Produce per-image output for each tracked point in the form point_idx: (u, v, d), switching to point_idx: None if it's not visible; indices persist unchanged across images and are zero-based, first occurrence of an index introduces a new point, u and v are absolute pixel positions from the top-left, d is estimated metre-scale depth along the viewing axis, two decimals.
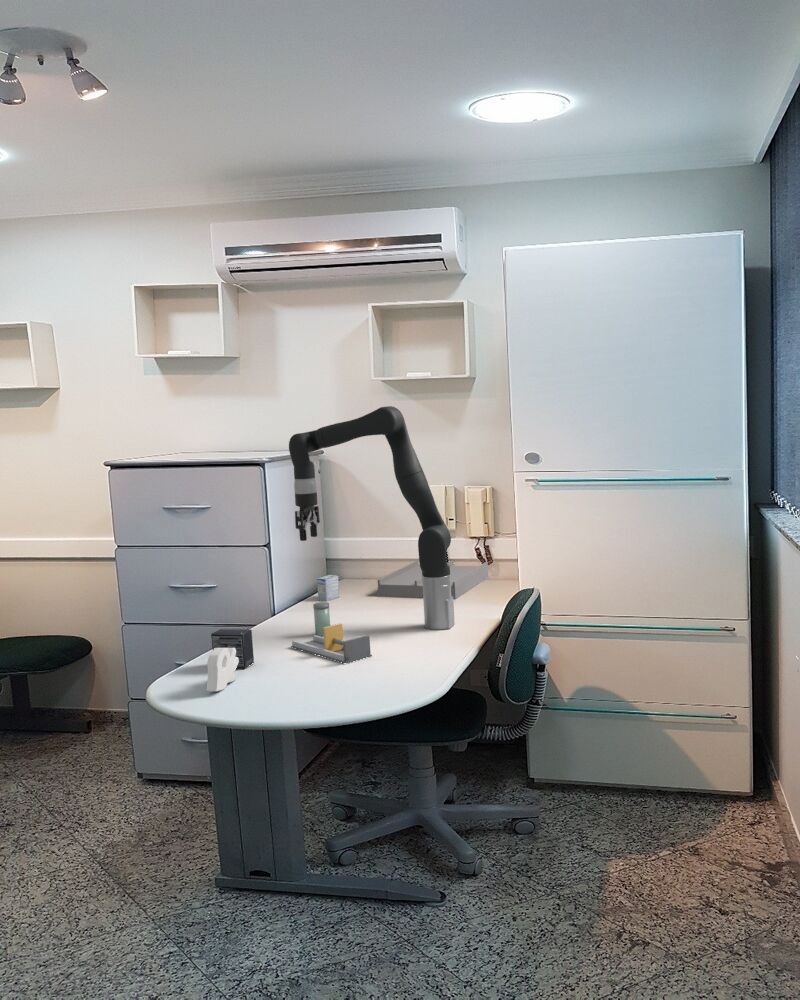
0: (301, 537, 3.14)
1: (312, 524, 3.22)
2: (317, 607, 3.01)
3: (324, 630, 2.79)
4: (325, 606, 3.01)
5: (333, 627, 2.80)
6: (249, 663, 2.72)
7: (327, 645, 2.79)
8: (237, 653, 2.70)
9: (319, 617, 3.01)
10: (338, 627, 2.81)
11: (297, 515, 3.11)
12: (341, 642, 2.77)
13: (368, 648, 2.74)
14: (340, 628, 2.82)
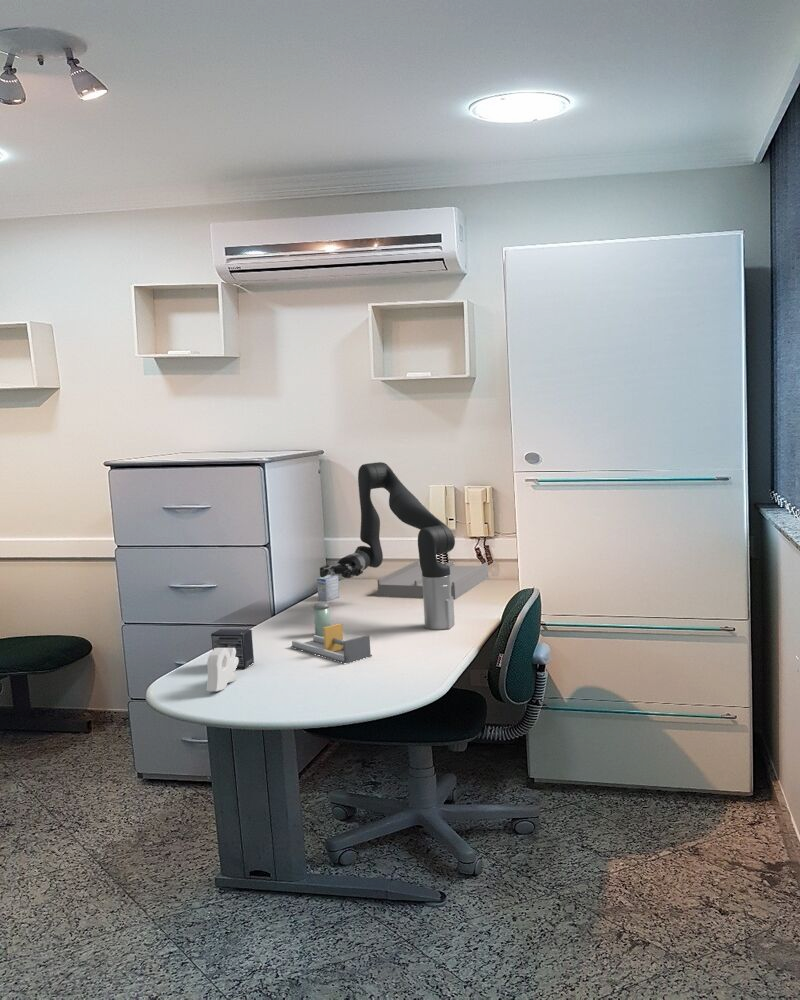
0: None
1: None
2: (317, 607, 3.01)
3: (324, 630, 2.79)
4: (325, 606, 3.01)
5: (333, 627, 2.80)
6: (249, 663, 2.72)
7: (327, 645, 2.79)
8: (237, 653, 2.70)
9: (319, 617, 3.01)
10: (338, 627, 2.81)
11: None
12: (341, 642, 2.77)
13: (368, 648, 2.74)
14: (340, 628, 2.82)
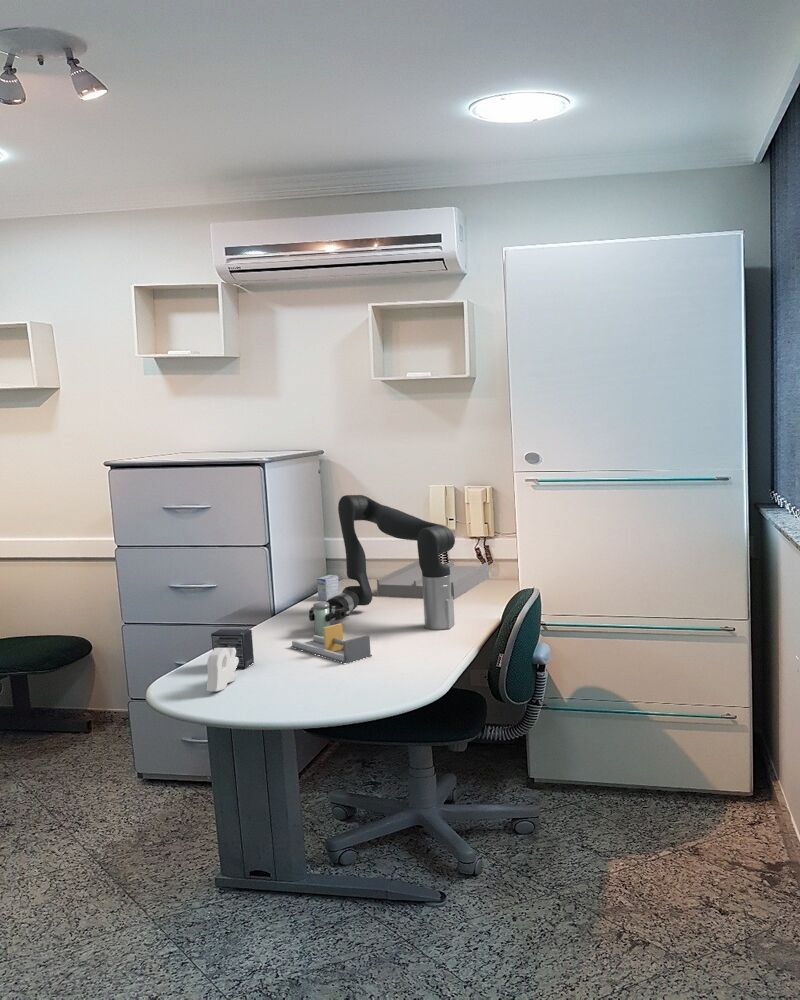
0: None
1: None
2: (317, 607, 3.01)
3: (324, 630, 2.79)
4: (325, 606, 3.01)
5: (333, 627, 2.80)
6: (249, 663, 2.72)
7: (327, 645, 2.79)
8: (237, 653, 2.70)
9: (319, 617, 3.01)
10: (338, 627, 2.81)
11: None
12: (341, 642, 2.77)
13: (368, 648, 2.74)
14: (340, 628, 2.82)
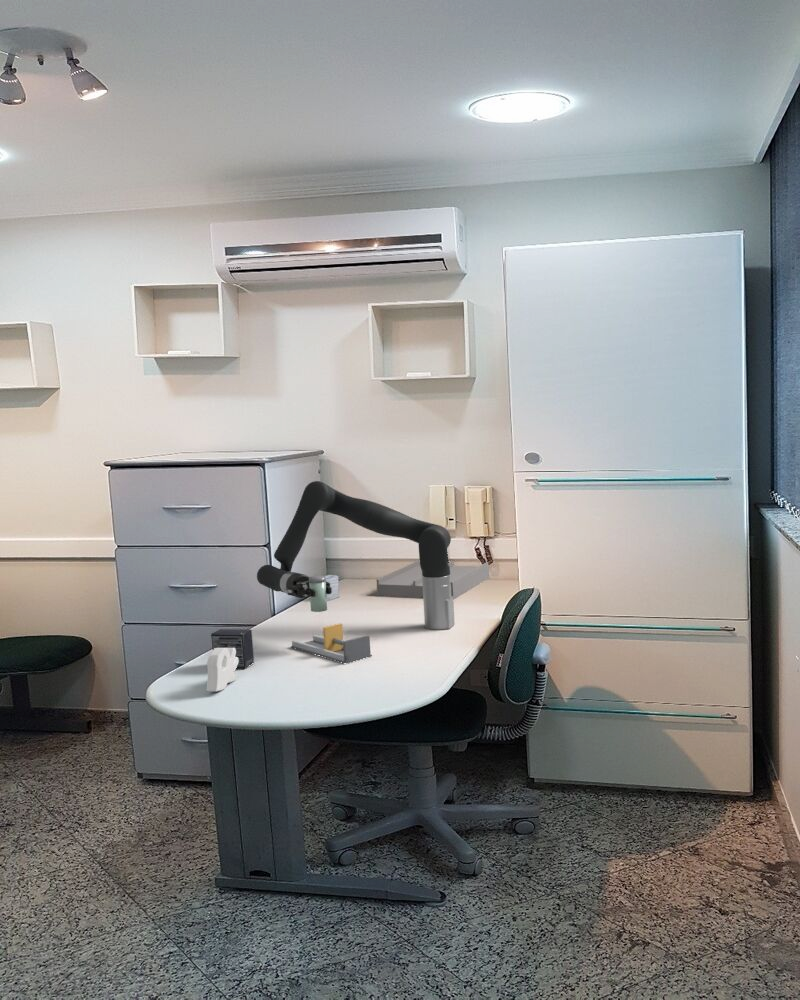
0: (309, 594, 2.82)
1: None
2: (320, 580, 2.83)
3: (324, 630, 2.79)
4: (325, 578, 2.85)
5: (333, 627, 2.80)
6: (249, 663, 2.72)
7: (327, 645, 2.79)
8: (237, 653, 2.70)
9: (322, 591, 2.84)
10: (338, 627, 2.81)
11: (290, 592, 2.87)
12: (341, 642, 2.77)
13: (368, 648, 2.74)
14: (340, 628, 2.82)
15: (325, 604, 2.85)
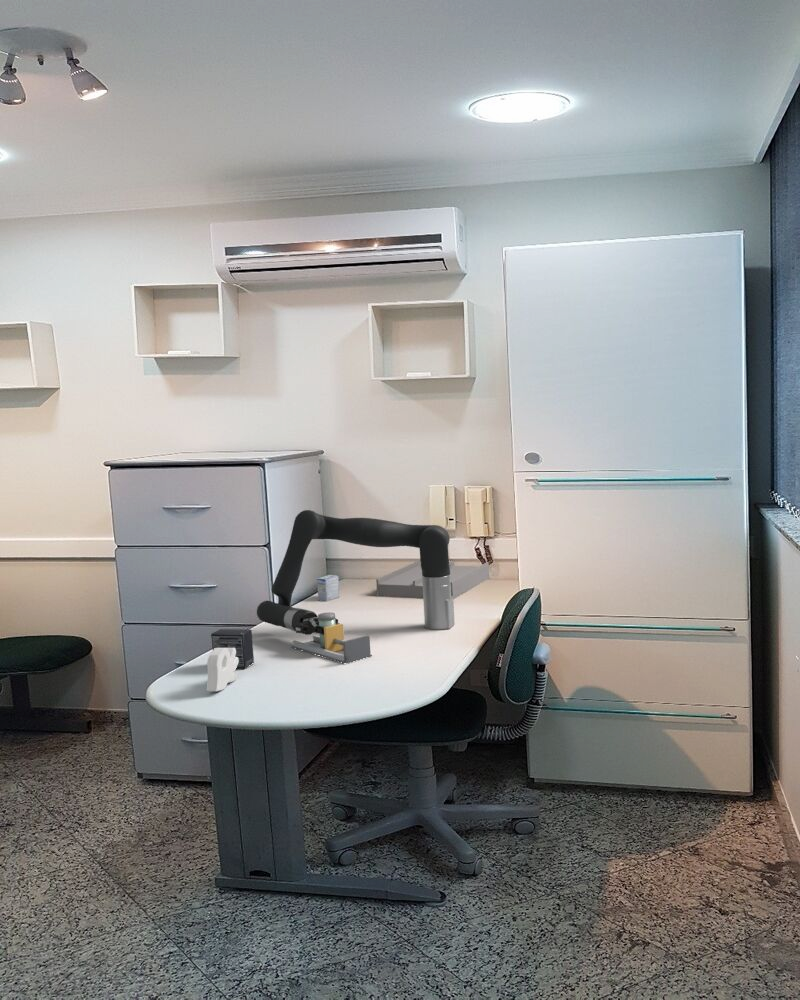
0: (320, 632, 2.79)
1: None
2: (331, 617, 2.80)
3: (325, 630, 2.78)
4: None
5: (334, 627, 2.80)
6: (249, 663, 2.72)
7: (328, 645, 2.79)
8: (237, 653, 2.70)
9: None
10: (339, 627, 2.81)
11: (298, 630, 2.83)
12: (342, 642, 2.77)
13: (368, 648, 2.74)
14: (341, 628, 2.82)
15: None
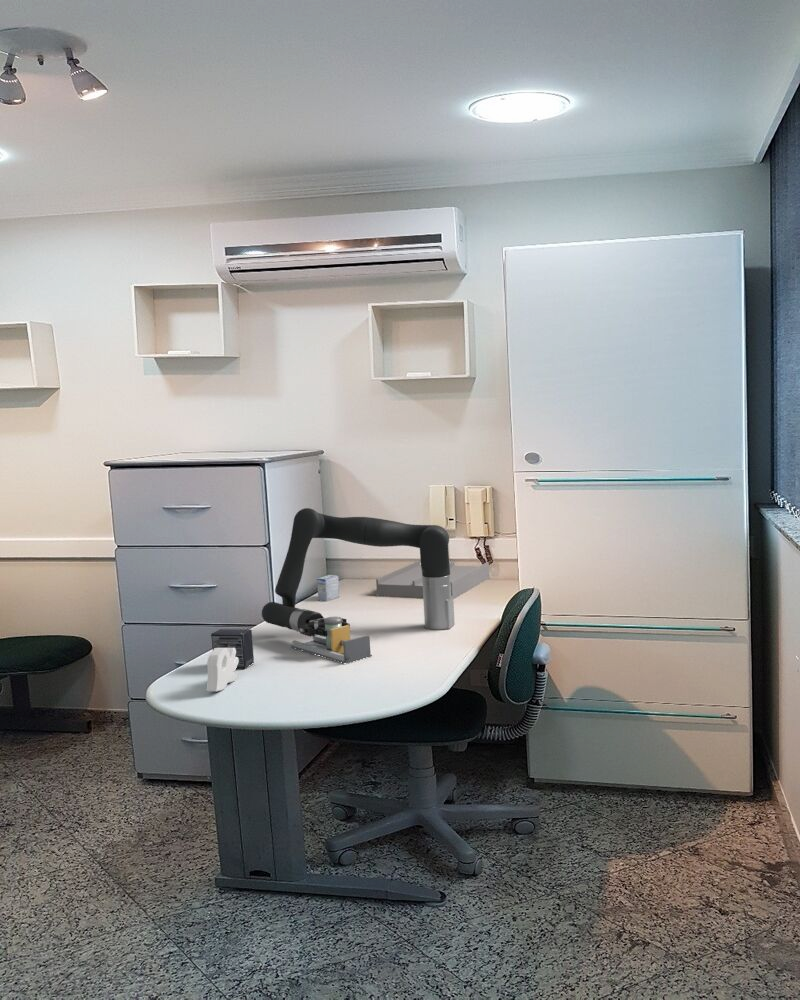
0: (321, 633, 2.77)
1: None
2: (337, 622, 2.78)
3: (331, 632, 2.76)
4: (341, 619, 2.80)
5: (340, 629, 2.77)
6: (249, 663, 2.72)
7: (334, 647, 2.76)
8: (237, 653, 2.70)
9: None
10: (345, 629, 2.79)
11: (301, 631, 2.81)
12: None
13: (368, 648, 2.74)
14: (347, 630, 2.79)
15: None
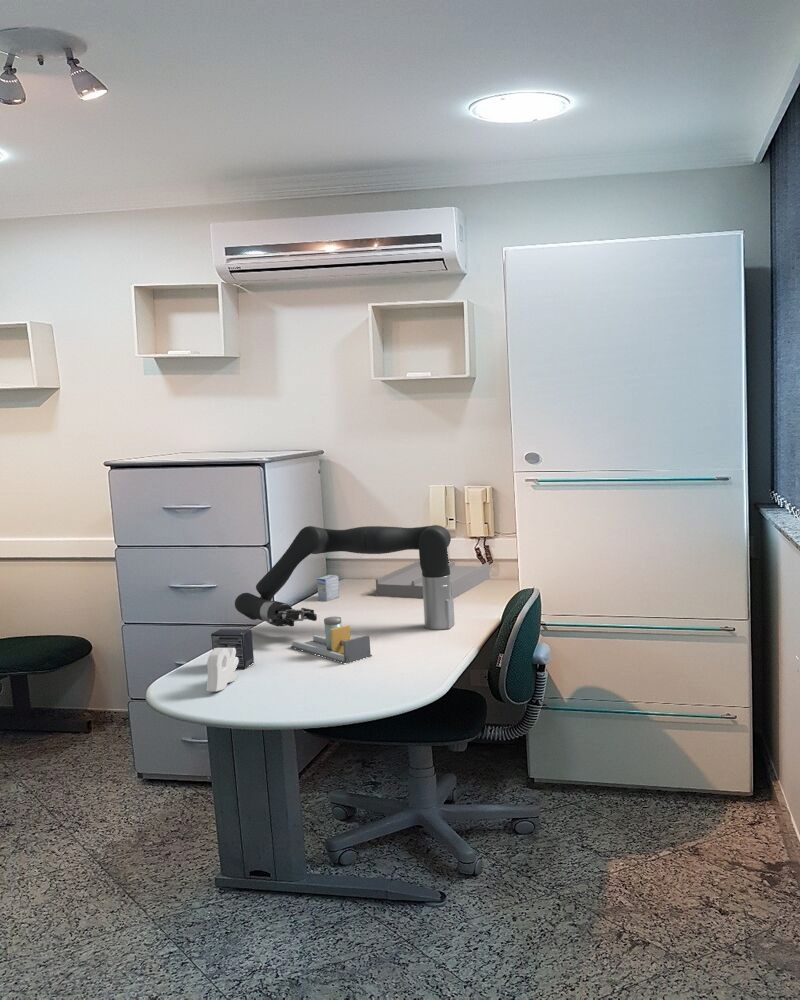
0: (288, 623, 2.90)
1: (307, 616, 2.98)
2: (337, 621, 2.78)
3: (331, 632, 2.76)
4: None
5: (340, 629, 2.77)
6: (249, 663, 2.72)
7: (334, 647, 2.76)
8: (237, 653, 2.70)
9: None
10: (345, 629, 2.79)
11: (270, 621, 2.95)
12: None
13: (368, 648, 2.74)
14: (347, 630, 2.79)
15: None
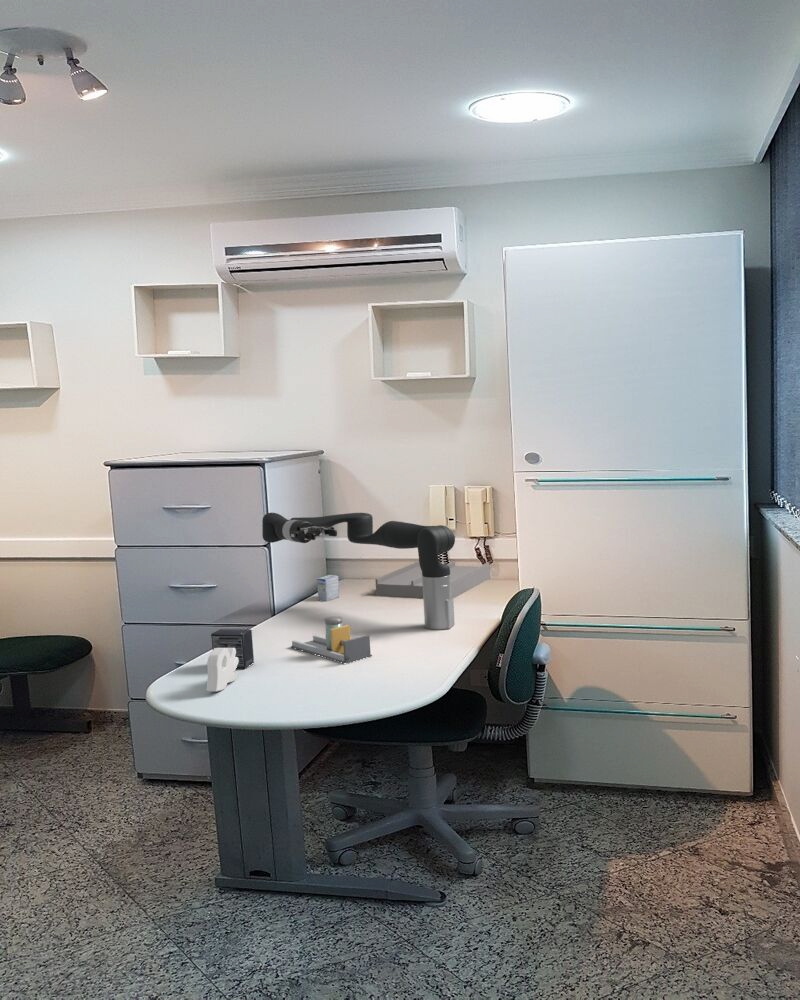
0: (310, 537, 3.04)
1: (328, 532, 3.12)
2: (338, 621, 2.78)
3: (331, 632, 2.76)
4: None
5: (340, 629, 2.77)
6: (249, 663, 2.72)
7: (334, 647, 2.76)
8: (237, 653, 2.70)
9: None
10: (345, 629, 2.79)
11: (293, 537, 3.09)
12: None
13: (368, 648, 2.74)
14: (347, 630, 2.79)
15: None
